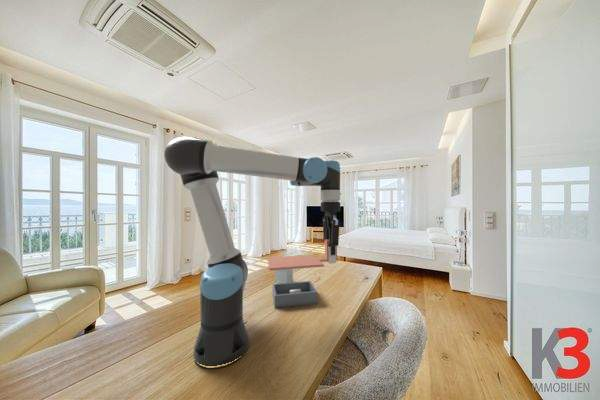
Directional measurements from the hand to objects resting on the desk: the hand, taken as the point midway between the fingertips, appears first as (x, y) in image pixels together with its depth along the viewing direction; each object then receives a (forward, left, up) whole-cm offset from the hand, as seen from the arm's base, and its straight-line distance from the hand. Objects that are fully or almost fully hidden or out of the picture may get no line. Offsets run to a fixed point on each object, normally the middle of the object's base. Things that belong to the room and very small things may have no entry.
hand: (330, 261), depth 81 cm
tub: (-12, +14, -20) cm, 27 cm away
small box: (-14, +34, -20) cm, 42 cm away
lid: (-11, 0, +1) cm, 11 cm away
